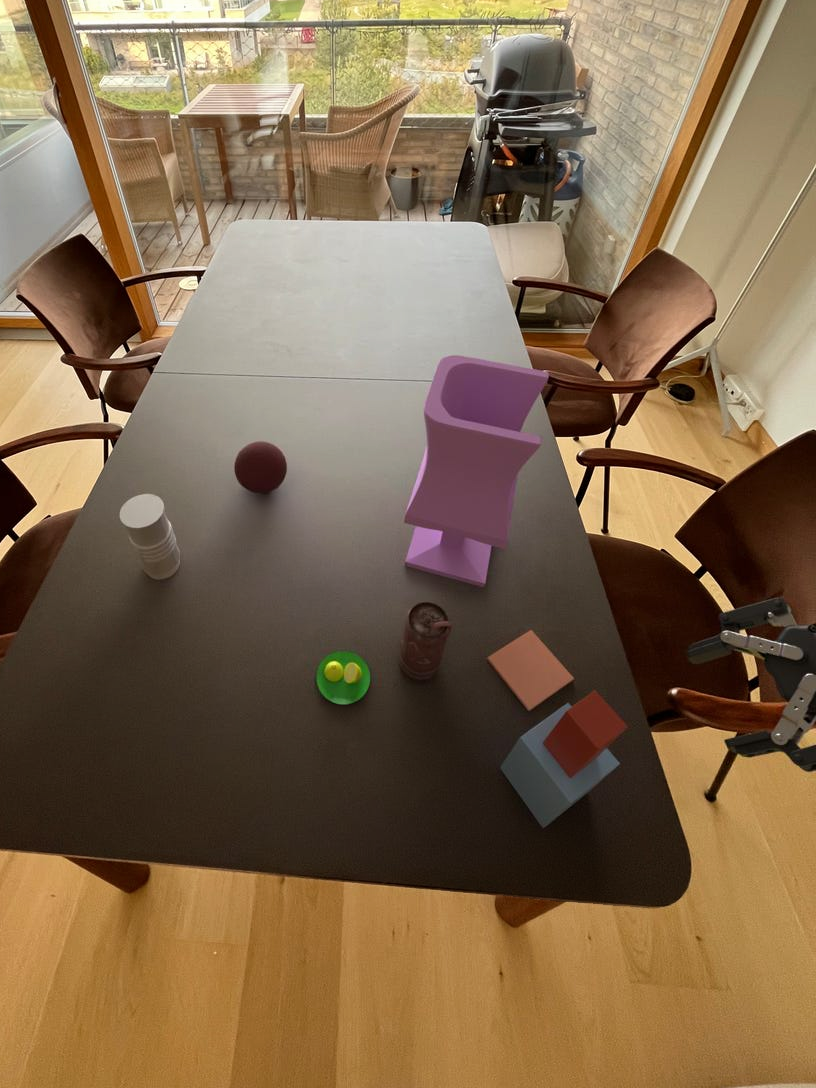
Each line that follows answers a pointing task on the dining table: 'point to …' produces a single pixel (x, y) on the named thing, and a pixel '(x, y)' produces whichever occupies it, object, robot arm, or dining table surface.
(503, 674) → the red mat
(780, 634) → the robot arm
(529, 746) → the blue stand
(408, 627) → the brown drink cup
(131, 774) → the dining table surface
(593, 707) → the red post
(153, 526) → the white ridged cylinder
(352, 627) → the dining table surface
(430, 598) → the dining table surface
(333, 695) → the green plate with lemons
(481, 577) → the vase
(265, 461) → the decorative ball
